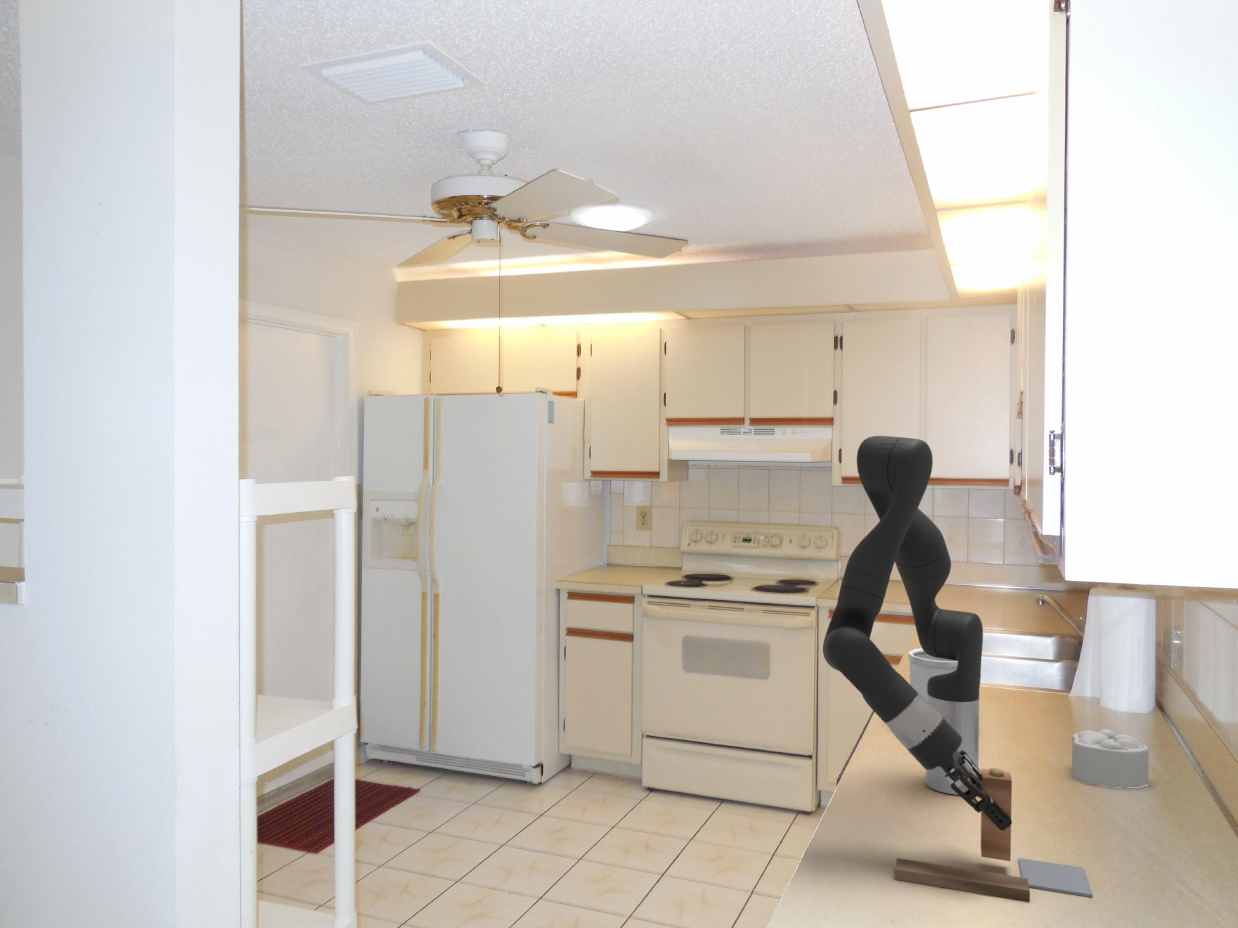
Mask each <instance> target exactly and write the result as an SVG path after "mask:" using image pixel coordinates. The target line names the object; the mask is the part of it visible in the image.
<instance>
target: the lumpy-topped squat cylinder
mask: <svg viewBox="0 0 1238 928" xmlns="http://www.w3.org/2000/svg"><path fill="white" fill-rule="evenodd" d="M1071 737H1072V738H1071V739H1072V743H1071V744H1072V745H1071V746H1072V747H1071V751H1072V753H1071V771H1072V779H1074V780H1075V781H1077V782H1080V783H1083V784H1087V783H1089V784H1088V785H1092V784H1093V786H1098V785H1103V786H1102V787H1104V786H1109V787H1108V788H1111V787H1121V788H1127V787H1140V786H1143V785H1146V784H1148V783H1149V782H1150V781H1149V780H1150V779H1149V778H1150V777H1149V775H1150V774H1149V773H1150V772H1149V771H1150V769H1149V768H1150V765H1149V763H1150V758H1149V757H1150V756H1149V753H1150V749H1149V747H1148V746H1147V745H1146V744H1144V743H1143V742H1140V741H1138V740H1136V739H1135V738H1133V736H1130V735H1129V734H1120V733H1119V734H1117V733H1116V732H1115V731H1114V730H1112V729H1109V728H1108V729H1107V728H1103V729H1100V730H1099V731H1095V730H1090V729H1087V730H1082V731H1080V732H1075V733H1073V734H1072V736H1071ZM1149 784H1150V783H1149Z"/></svg>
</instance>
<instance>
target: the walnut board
mask: <svg viewBox="0 0 1238 928" xmlns="http://www.w3.org/2000/svg"><path fill="white" fill-rule="evenodd" d="M894 870H895V871H894V873H895V874H894V875H895V878H894V880H897V881H903V882H909V883H915V884H920V885H926V886H927V885H928V886H933V887H939V888H946V889H951V890H957V891H958V890H959V891H964V892H971V893H976V894H982V895H987V896H988V895H989V896H995V897H999V898H1001V897H1002V898H1007V899H1012V900H1019V901H1024V902H1030V901H1031V899H1030V897H1031V892H1030V887H1029V884H1028V879H1027V878H1023V877H1021V876H1015V875H1009V874H1003V873H996V872H990V871H983V870H977V869H970V868H964V867H957V866H952V865H944V864H938V863H932V862H924V861H919V860H913V859H907V858H899V857H896V863H895V869H894Z"/></svg>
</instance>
